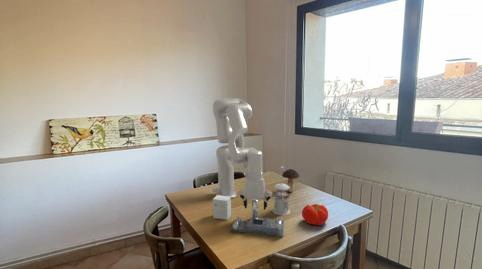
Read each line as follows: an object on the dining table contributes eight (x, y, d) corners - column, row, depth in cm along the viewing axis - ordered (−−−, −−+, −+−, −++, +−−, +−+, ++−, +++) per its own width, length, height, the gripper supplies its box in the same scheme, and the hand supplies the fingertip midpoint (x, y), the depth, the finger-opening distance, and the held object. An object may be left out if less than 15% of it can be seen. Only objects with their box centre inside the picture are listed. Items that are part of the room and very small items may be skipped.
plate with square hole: (230, 232, 125) (230, 221, 124) (235, 223, 133) (234, 212, 132) (283, 237, 120) (283, 226, 119) (283, 227, 129) (284, 216, 128)
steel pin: (251, 219, 137) (251, 201, 135) (252, 216, 140) (252, 198, 138) (257, 220, 136) (257, 201, 134) (258, 217, 139) (258, 199, 137)
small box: (231, 215, 142) (231, 196, 140) (227, 220, 136) (227, 200, 135) (217, 213, 144) (217, 194, 142) (213, 218, 139) (212, 198, 137)
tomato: (306, 229, 126) (306, 212, 125) (299, 217, 139) (299, 201, 137) (332, 228, 127) (333, 211, 126) (323, 216, 139) (324, 200, 138)
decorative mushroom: (301, 190, 175) (301, 168, 173) (295, 196, 166) (296, 172, 163) (285, 187, 181) (285, 165, 178) (278, 192, 171) (279, 170, 169)
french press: (270, 213, 143) (270, 168, 139) (275, 204, 154) (275, 162, 150) (288, 216, 140) (289, 169, 136) (292, 207, 151) (293, 163, 146)
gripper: (236, 177, 132) (237, 210, 135) (271, 178, 129) (271, 212, 131) (239, 172, 139) (240, 204, 142) (272, 173, 136) (273, 206, 138)
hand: (255, 207), depth 136 cm, fingers open, 9 cm apart
